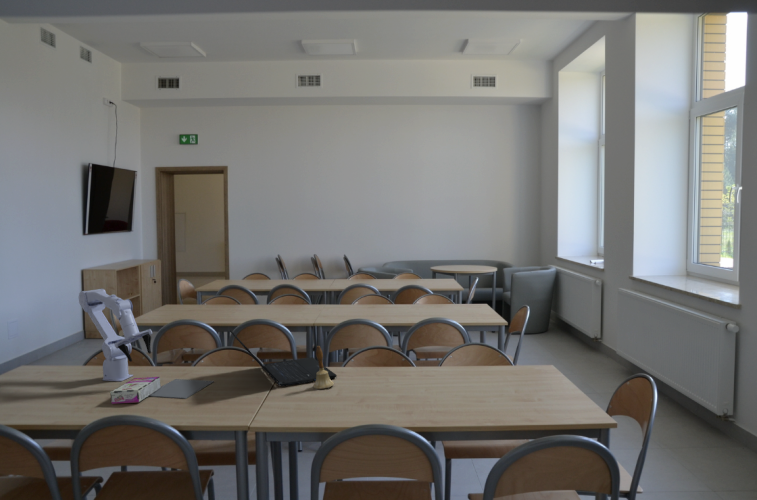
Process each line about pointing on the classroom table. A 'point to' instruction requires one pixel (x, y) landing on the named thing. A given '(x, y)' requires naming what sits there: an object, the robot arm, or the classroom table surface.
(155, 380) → the candy bar box
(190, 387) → the mat
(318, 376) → the hand bell
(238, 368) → the classroom table surface
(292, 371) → the laptop
